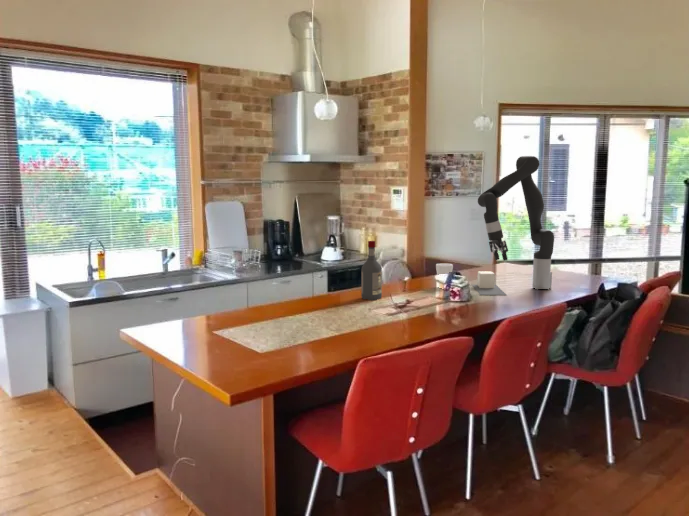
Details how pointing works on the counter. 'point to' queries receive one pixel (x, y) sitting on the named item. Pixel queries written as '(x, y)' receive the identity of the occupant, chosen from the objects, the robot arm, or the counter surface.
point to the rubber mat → (489, 290)
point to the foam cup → (443, 268)
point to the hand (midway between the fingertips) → (501, 259)
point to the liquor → (371, 276)
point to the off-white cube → (485, 279)
